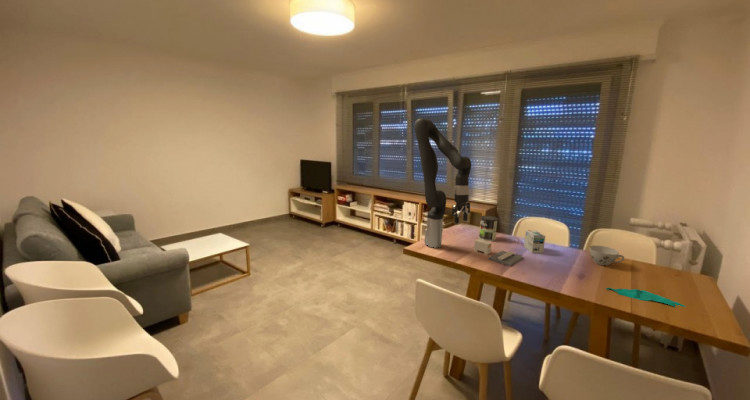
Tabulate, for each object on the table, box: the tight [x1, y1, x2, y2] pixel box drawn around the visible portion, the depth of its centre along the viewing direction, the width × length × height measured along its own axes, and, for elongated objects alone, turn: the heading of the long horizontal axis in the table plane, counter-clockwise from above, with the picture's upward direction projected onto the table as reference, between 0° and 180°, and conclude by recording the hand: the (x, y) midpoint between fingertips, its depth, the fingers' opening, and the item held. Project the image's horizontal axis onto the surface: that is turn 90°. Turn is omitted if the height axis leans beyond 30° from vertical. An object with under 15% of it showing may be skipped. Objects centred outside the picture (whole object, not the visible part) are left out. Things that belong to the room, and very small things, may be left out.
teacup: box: [589, 245, 625, 267], centre depth 164 cm, size 15×12×8 cm
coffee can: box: [478, 215, 499, 242], centre depth 201 cm, size 10×10×14 cm
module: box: [473, 238, 493, 255], centre depth 178 cm, size 8×4×6 cm, turn 42°
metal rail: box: [497, 251, 515, 261], centre depth 169 cm, size 3×14×1 cm, turn 132°
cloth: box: [605, 287, 686, 308], centre depth 132 cm, size 26×14×2 cm, turn 46°
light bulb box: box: [523, 229, 546, 254], centre depth 182 cm, size 11×7×11 cm, turn 179°
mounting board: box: [487, 250, 525, 267], centre depth 169 cm, size 12×16×1 cm
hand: (461, 222), depth 174 cm, fingers open, 8 cm apart
